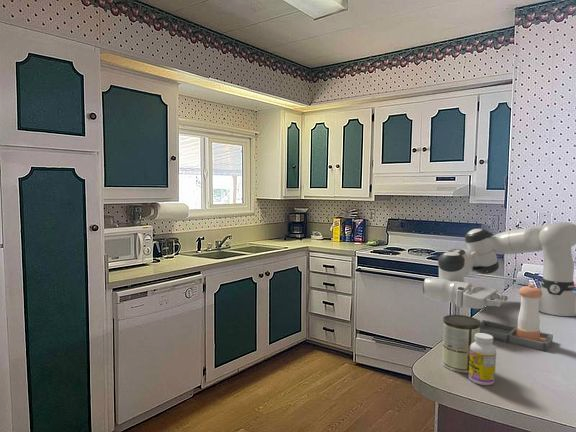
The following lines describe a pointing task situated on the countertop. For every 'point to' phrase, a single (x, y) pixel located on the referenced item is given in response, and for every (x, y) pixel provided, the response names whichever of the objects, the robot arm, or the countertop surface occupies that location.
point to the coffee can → (458, 341)
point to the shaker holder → (514, 335)
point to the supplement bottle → (482, 360)
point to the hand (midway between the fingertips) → (504, 301)
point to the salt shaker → (529, 313)
